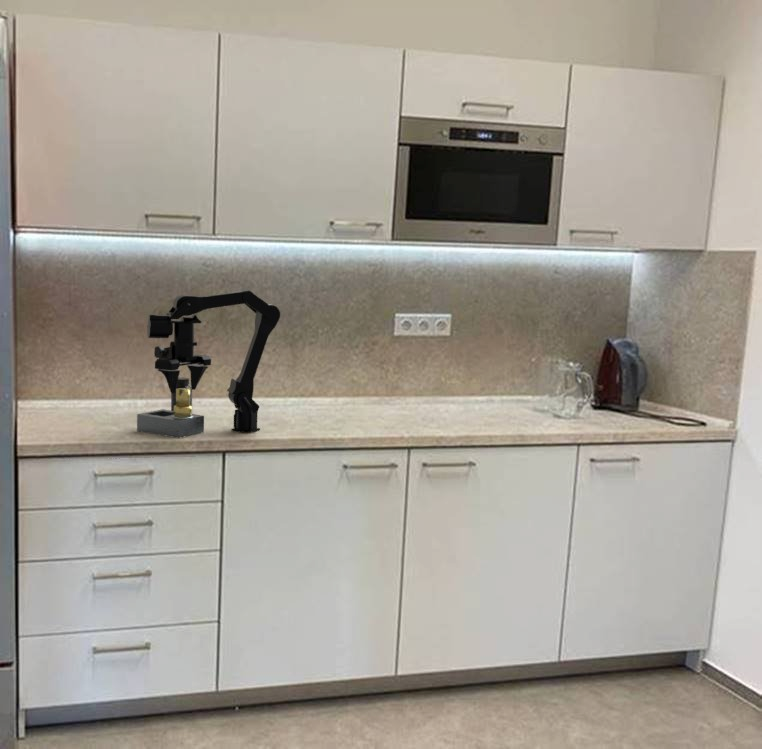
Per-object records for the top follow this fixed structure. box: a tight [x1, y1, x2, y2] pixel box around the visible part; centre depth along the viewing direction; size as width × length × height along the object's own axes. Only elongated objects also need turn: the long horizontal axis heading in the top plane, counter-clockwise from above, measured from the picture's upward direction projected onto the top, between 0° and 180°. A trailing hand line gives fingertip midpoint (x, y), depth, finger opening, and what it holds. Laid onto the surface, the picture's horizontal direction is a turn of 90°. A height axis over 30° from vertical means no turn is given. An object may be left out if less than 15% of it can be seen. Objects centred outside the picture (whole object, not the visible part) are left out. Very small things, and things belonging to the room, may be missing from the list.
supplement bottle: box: [170, 377, 193, 411], centre depth 284 cm, size 7×7×12 cm
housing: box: [136, 408, 205, 439], centre depth 257 cm, size 16×11×5 cm
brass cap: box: [174, 388, 193, 418], centre depth 254 cm, size 5×5×8 cm
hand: (183, 391), depth 254 cm, fingers open, 9 cm apart
